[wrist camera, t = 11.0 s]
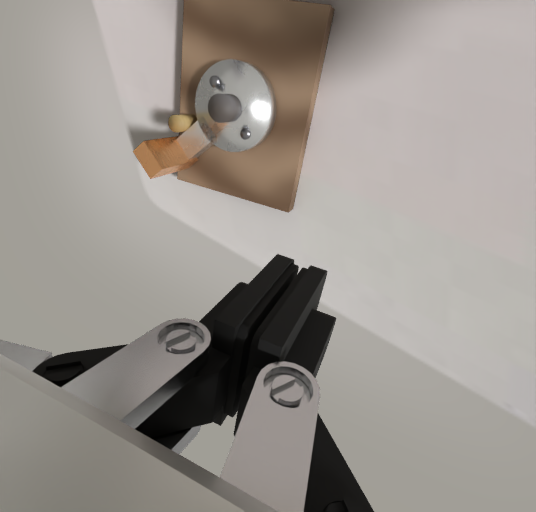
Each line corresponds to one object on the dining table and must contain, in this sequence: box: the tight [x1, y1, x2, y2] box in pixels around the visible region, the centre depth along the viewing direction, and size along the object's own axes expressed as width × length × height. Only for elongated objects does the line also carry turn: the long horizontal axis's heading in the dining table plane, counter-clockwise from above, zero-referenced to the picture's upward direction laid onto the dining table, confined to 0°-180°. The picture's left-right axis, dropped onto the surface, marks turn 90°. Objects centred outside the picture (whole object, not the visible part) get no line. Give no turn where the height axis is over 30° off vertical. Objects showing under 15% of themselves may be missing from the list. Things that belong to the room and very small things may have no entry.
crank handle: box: [133, 59, 277, 179], centre depth 32 cm, size 13×8×6 cm, turn 124°
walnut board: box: [168, 0, 334, 212], centre depth 32 cm, size 18×14×6 cm
